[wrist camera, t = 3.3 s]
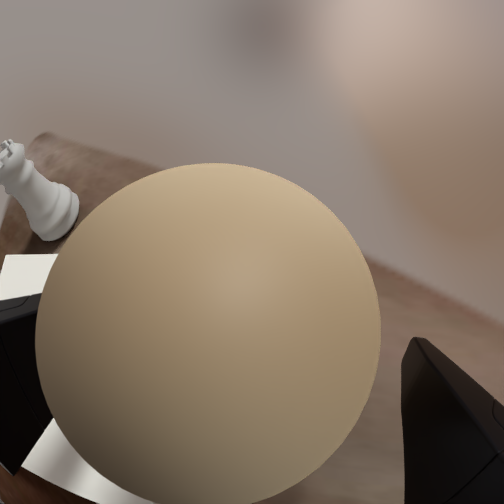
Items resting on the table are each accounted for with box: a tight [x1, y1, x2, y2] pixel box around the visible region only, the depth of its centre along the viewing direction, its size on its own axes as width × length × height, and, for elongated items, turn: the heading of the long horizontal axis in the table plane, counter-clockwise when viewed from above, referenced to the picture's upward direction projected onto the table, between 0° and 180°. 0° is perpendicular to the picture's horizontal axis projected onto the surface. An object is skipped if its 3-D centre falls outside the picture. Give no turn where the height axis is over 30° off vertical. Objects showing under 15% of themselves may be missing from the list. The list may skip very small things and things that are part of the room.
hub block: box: [0, 254, 159, 504], centre depth 13 cm, size 12×12×4 cm
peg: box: [35, 163, 381, 504], centre depth 9 cm, size 4×4×13 cm
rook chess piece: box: [0, 139, 79, 241], centre depth 17 cm, size 4×4×8 cm
